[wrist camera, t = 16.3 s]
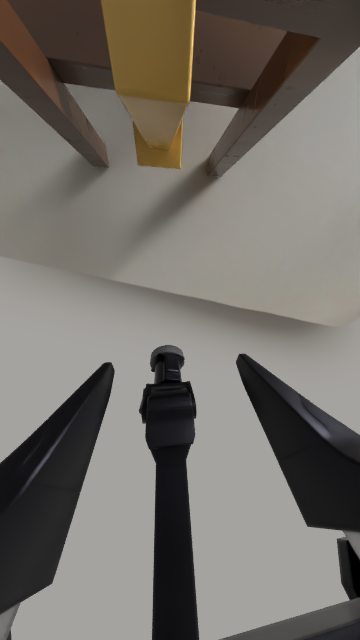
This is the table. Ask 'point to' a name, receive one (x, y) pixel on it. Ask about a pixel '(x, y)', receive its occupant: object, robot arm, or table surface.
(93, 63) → the brown legged wooden frame
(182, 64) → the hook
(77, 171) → the table surface
